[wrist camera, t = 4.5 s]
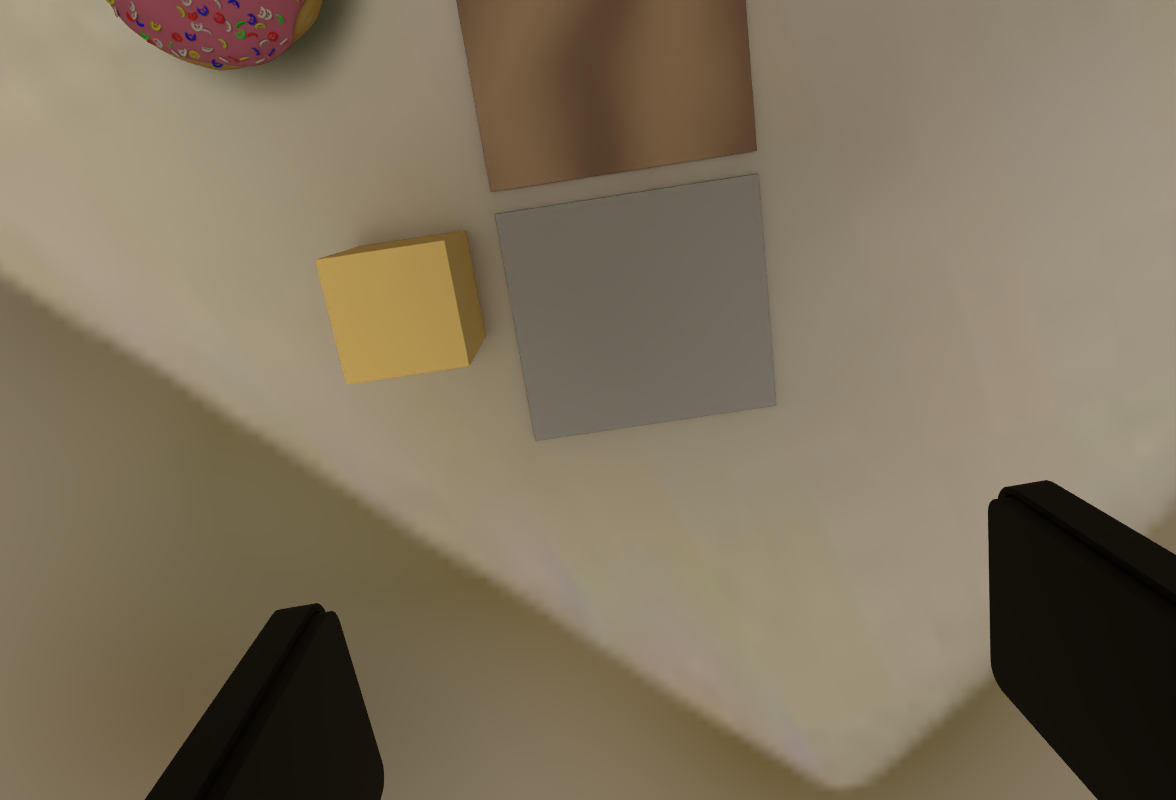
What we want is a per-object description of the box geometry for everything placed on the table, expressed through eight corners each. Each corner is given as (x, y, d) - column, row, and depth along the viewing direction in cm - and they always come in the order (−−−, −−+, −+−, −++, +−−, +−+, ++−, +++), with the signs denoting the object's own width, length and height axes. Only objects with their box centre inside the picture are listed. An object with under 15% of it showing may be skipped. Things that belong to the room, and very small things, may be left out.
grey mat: (757, 174, 33) (758, 174, 33) (774, 403, 36) (776, 405, 36) (495, 214, 33) (494, 214, 33) (535, 438, 36) (535, 440, 36)
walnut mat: (733, -133, 30) (735, -136, 29) (755, 150, 33) (756, 150, 32) (441, -86, 30) (440, -88, 29) (491, 191, 33) (490, 191, 33)
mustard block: (465, 230, 33) (444, 240, 28) (485, 336, 35) (469, 366, 29) (358, 246, 34) (314, 259, 28) (383, 351, 35) (346, 384, 29)
